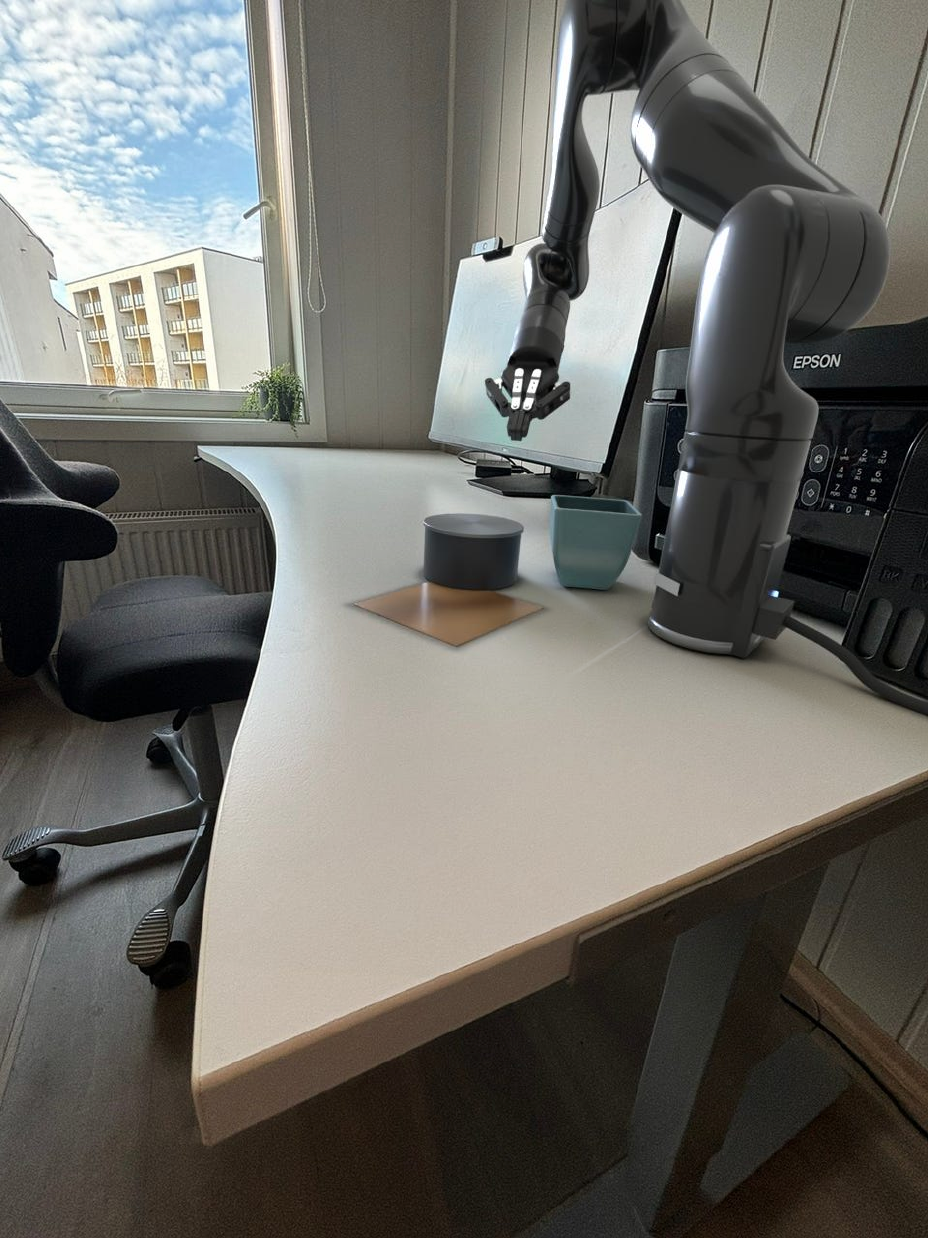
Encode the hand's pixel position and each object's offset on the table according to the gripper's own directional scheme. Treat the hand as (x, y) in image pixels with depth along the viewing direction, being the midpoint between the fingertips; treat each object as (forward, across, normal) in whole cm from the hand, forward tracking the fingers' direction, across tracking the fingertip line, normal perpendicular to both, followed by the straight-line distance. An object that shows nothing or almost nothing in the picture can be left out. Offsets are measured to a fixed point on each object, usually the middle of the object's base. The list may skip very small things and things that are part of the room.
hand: (515, 436), depth 78 cm
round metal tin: (+25, 0, -5) cm, 26 cm away
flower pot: (+23, +12, -3) cm, 26 cm away
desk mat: (+32, +1, -13) cm, 35 cm away
